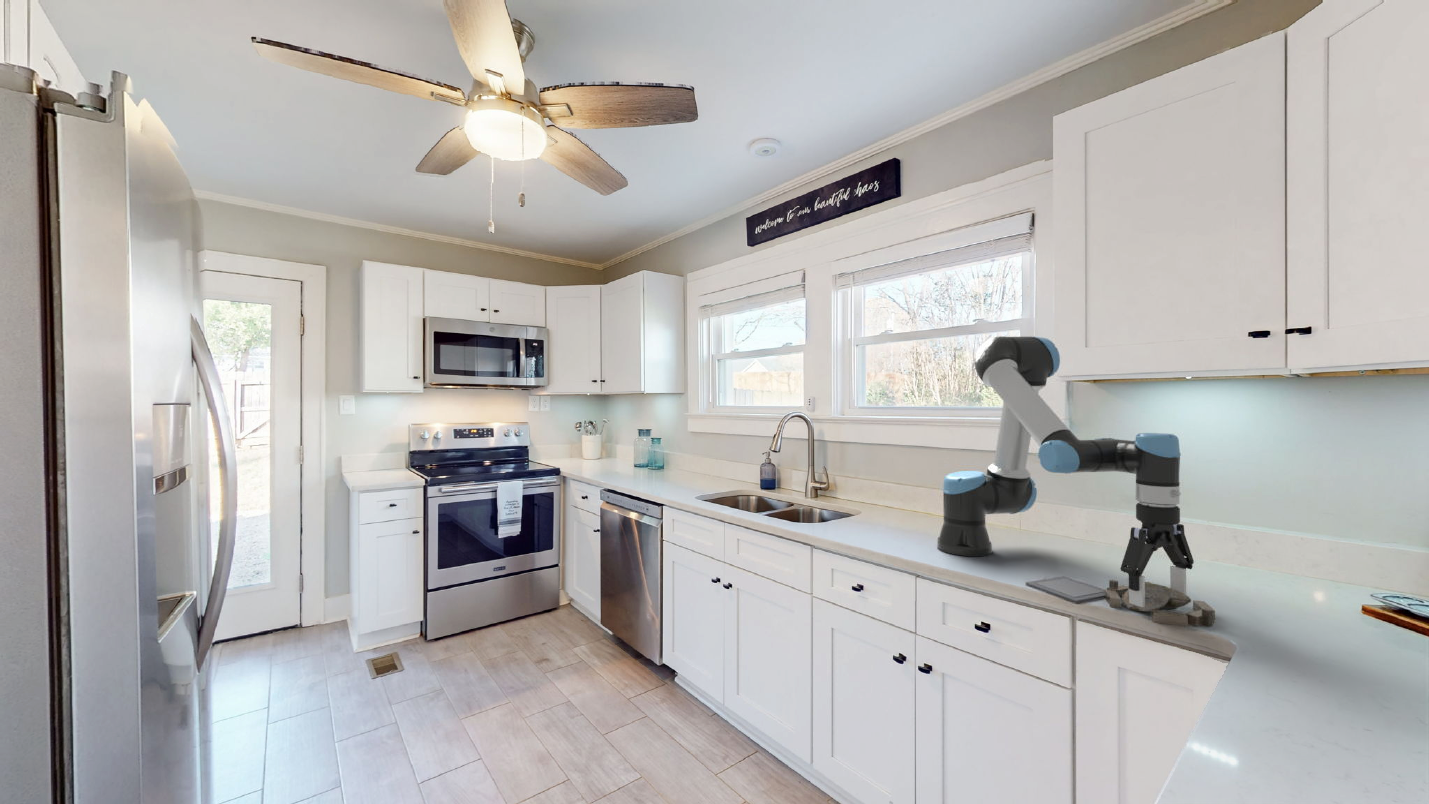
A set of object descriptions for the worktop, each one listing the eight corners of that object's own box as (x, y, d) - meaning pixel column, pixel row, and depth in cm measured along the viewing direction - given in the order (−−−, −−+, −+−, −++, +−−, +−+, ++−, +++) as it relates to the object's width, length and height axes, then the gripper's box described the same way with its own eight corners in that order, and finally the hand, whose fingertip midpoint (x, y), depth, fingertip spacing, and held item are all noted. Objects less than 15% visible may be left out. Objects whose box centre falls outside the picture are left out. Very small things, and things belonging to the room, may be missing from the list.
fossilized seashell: (1120, 589, 129) (1133, 564, 126) (1175, 613, 123) (1190, 588, 121) (1120, 612, 120) (1134, 586, 118) (1179, 638, 115) (1195, 612, 112)
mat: (1025, 584, 137) (1025, 581, 136) (1063, 578, 141) (1063, 575, 141) (1075, 603, 124) (1075, 600, 124) (1115, 595, 129) (1115, 592, 129)
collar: (1086, 598, 127) (1086, 584, 127) (1134, 588, 133) (1134, 575, 133) (1183, 632, 109) (1183, 616, 109) (1235, 620, 114) (1236, 605, 114)
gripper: (1137, 511, 113) (1137, 615, 113) (1213, 502, 121) (1214, 599, 121) (1100, 505, 120) (1101, 602, 120) (1175, 497, 128) (1175, 588, 128)
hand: (1158, 600), depth 121 cm, fingers open, 13 cm apart
